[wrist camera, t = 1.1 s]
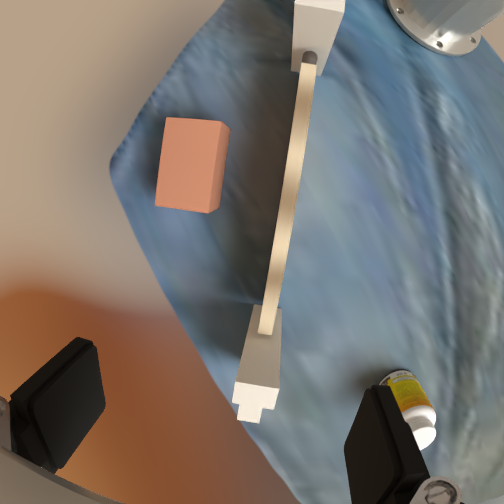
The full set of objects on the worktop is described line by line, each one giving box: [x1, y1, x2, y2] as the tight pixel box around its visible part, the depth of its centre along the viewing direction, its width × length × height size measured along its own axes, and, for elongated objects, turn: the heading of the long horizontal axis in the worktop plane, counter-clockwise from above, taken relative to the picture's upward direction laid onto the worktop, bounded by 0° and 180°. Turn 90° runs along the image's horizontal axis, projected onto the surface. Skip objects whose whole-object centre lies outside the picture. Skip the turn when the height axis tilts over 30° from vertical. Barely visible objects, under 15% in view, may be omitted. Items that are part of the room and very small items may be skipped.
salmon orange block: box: [155, 117, 231, 213], centre depth 29 cm, size 8×5×5 cm, turn 172°
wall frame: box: [232, 0, 345, 423], centre depth 24 cm, size 40×3×14 cm, turn 171°
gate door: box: [258, 51, 318, 335], centre depth 27 cm, size 24×1×7 cm, turn 171°
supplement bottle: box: [379, 370, 436, 450], centre depth 30 cm, size 6×6×10 cm
